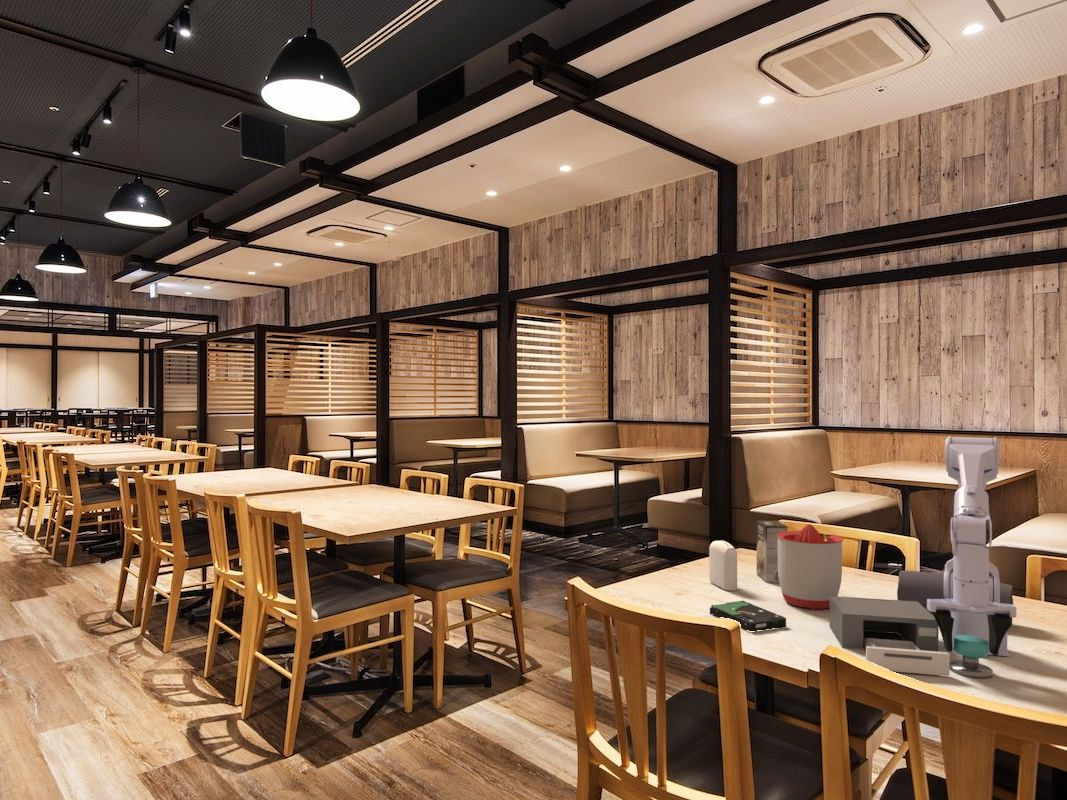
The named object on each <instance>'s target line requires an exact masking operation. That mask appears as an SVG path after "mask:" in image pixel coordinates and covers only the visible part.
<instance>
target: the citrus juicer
mask: <svg viewBox="0 0 1067 800" xmlns="http://www.w3.org/2000/svg"><path fill="white" fill-rule="evenodd" d="M777 536H778V577H779V582H778V583H779V587H780V590H781V594H782V597H783V599H784V601H785V602H786V603H787V604H789V605H793V606H795V607H801V608H807V609H812V610H816V611H818V610H822V609H830V596H838V595H839V593H840V589H841V585H842V578H843V577H842V575H843V571H842V570H843V541H844V538H843V537H841V536H839V535H837V534H836V535H835V534H831V535H828V537H827V540H825V539H824V538H823V536H822V535H821V534H820V532H819V531H818V530H817V529H816V527H814V525H812V524H810V523H809V524H807V525H805V526H804V527H803V528H801V530H787V531H785V532H780V533H778V534H777ZM838 597H839V596H838Z"/></svg>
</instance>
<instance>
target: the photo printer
mask: <svg viewBox="0 0 1067 800" xmlns="http://www.w3.org/2000/svg"><path fill="white" fill-rule="evenodd" d="M708 549H709V551H708V552H709V566H708V567H709V570H708V571H709V582H710V583H711V584H713V585H715V586H717V587H719V588H721V589H723V590H725V591H736V590H737V589H738V551H737V550H736V548H735V547H734V546H733V545H732V544H731V543H729V542H727V541H725V540H714V541H712V542H711V543H710V545H709V548H708Z"/></svg>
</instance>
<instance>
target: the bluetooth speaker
mask: <svg viewBox="0 0 1067 800" xmlns="http://www.w3.org/2000/svg"><path fill="white" fill-rule="evenodd" d="M897 582H898V583H897V590H896V593H897V594H896V596H897V597H896V598H897V599H896V600H901V601H917V602H918V603H920V604H921V605H922V606H923V607H924V608H925V609H926V610H928V609H927V599H946V598H945V597H944V573H939V572H938V573H936V572H929V571H917V570H900V571H899V573H898V581H897ZM1013 590H1014V588H1013V585H1011V584H1006V583H1005V582H1003V583H1002V582H1000V603H1003V604H1012V605H1014V598H1013ZM928 611H929V610H928ZM929 612H930V611H929ZM930 613H931V614H932V612H930ZM949 613H950V614H951V612H949ZM932 615H933V614H932ZM1010 619H1012V620H1013V619H1014V617H1010Z"/></svg>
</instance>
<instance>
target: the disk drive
mask: <svg viewBox="0 0 1067 800" xmlns="http://www.w3.org/2000/svg"><path fill="white" fill-rule="evenodd" d="M711 614H713V615H712V616H713V617H715V618H717V617H724V618H730V619H733V620H736V621H738V622H740V624H741V628H742V629H741V628H740V629H741V630H743V631H745V630H749V631H757V630H766V629H772V628H780V629H784V628H783V627H786V628H787V618H786V617H784V616H782V615H779V614H777V613H775V612H772V611H770V610H767V609H766V608H762V607H760V606H757V605H755V604H752V603H751V602H748V601H745V600H739V601H732V602H726V603H721V604H711V606H710V607H709V615H711ZM766 631H767V630H766Z"/></svg>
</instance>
